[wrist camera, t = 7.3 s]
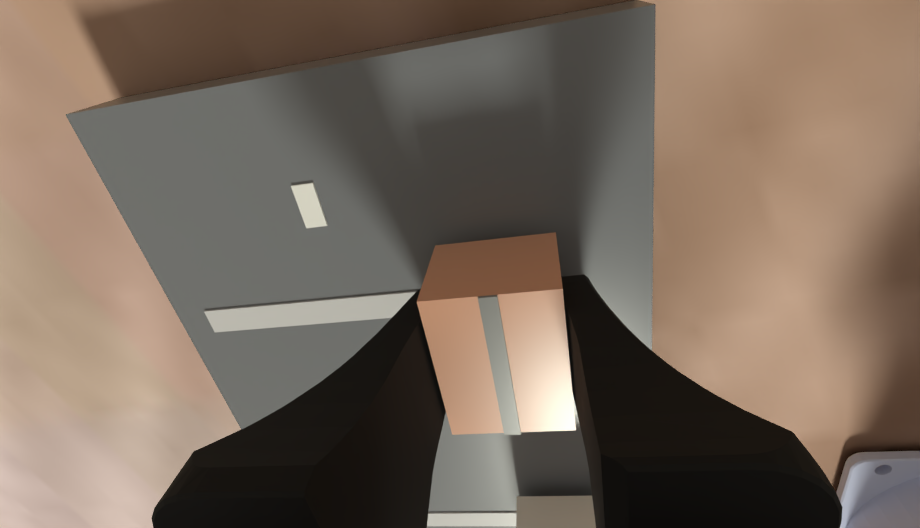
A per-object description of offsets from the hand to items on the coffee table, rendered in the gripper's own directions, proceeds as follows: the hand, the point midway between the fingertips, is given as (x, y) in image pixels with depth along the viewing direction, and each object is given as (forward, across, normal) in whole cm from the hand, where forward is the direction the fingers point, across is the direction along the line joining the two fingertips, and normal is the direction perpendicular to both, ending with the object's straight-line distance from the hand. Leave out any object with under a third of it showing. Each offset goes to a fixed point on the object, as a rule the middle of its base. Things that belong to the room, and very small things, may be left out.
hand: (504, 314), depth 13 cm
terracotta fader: (0, 0, 0) cm, 0 cm away
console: (+3, +3, +4) cm, 6 cm away
